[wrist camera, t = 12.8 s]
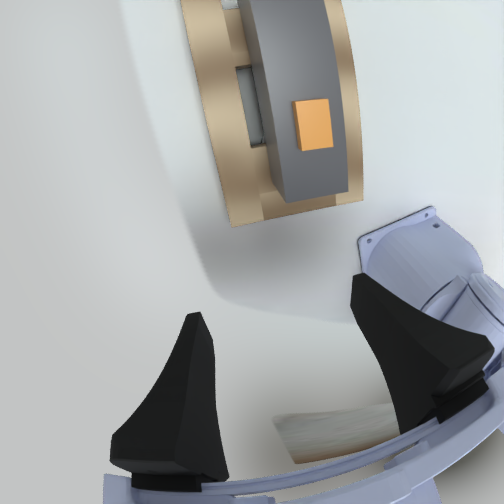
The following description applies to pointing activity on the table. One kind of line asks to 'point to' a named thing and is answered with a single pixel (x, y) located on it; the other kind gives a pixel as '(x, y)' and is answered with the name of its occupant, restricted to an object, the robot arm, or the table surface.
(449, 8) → the table surface
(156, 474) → the robot arm
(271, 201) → the keyhole board
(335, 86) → the grey block
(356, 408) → the table surface
